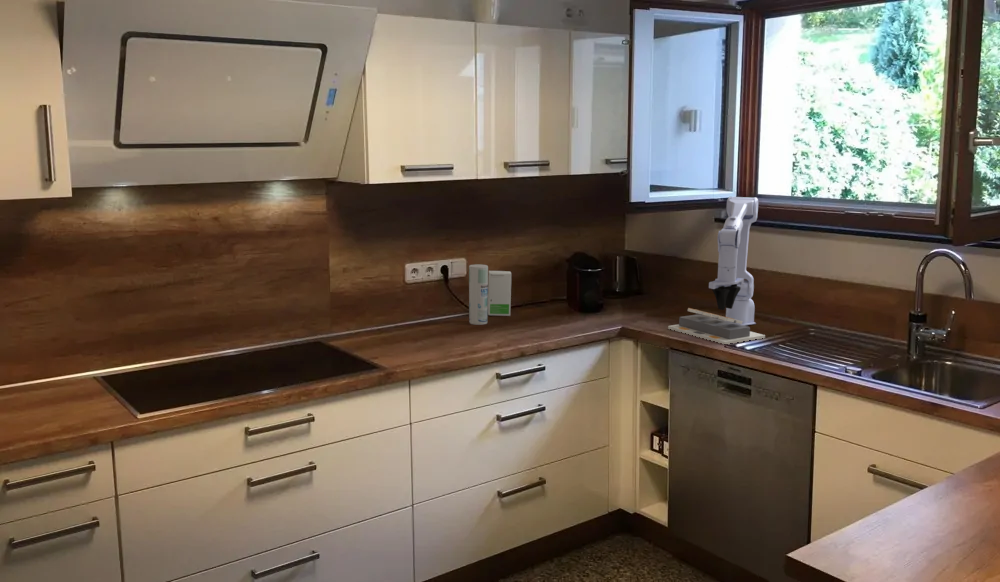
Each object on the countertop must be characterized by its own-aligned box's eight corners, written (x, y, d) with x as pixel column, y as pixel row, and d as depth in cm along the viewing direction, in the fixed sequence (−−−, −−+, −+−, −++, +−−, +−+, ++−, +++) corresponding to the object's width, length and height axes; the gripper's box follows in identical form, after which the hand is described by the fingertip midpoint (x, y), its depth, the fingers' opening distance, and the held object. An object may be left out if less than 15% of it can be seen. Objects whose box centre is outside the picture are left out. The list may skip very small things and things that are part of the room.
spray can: (481, 325, 295) (481, 267, 292) (465, 323, 298) (465, 266, 295) (491, 322, 301) (491, 265, 297) (475, 320, 304) (475, 263, 300)
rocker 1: (701, 314, 294) (702, 310, 294) (710, 316, 290) (711, 313, 290) (686, 311, 290) (687, 307, 290) (696, 313, 287) (697, 309, 287)
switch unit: (706, 323, 301) (707, 311, 301) (764, 338, 280) (765, 326, 279) (668, 328, 292) (668, 317, 291) (725, 344, 270) (725, 332, 270)
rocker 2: (716, 318, 288) (717, 314, 288) (726, 320, 284) (727, 317, 284) (701, 314, 284) (702, 311, 284) (711, 317, 281) (712, 313, 281)
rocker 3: (732, 322, 282) (733, 318, 282) (742, 324, 279) (743, 320, 279) (717, 318, 279) (718, 315, 278) (727, 321, 275) (728, 317, 275)
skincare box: (488, 316, 311) (488, 273, 308) (487, 312, 317) (487, 270, 315) (511, 315, 311) (511, 273, 308) (510, 312, 318) (510, 270, 315)
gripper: (732, 263, 281) (730, 304, 284) (702, 267, 273) (700, 309, 275) (750, 266, 276) (747, 307, 278) (719, 270, 267) (717, 313, 270)
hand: (725, 308), depth 276 cm, fingers open, 3 cm apart
